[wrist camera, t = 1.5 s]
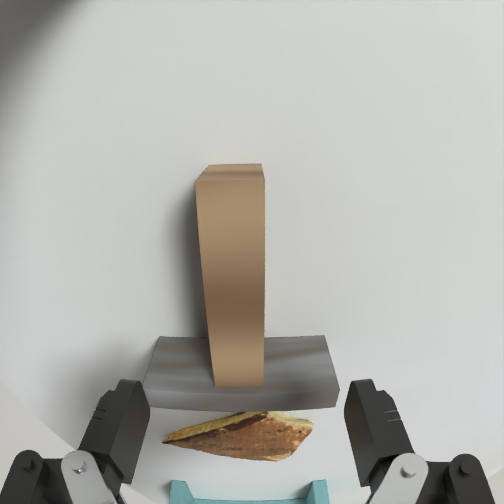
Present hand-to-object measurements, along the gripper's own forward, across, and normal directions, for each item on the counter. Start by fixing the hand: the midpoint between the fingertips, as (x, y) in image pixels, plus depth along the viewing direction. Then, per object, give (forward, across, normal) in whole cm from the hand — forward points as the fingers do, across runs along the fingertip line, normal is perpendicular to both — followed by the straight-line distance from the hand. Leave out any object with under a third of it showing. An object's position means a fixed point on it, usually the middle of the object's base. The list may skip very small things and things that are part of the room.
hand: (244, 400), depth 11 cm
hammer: (+7, 0, -3) cm, 7 cm away
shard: (+8, 0, +14) cm, 16 cm away
